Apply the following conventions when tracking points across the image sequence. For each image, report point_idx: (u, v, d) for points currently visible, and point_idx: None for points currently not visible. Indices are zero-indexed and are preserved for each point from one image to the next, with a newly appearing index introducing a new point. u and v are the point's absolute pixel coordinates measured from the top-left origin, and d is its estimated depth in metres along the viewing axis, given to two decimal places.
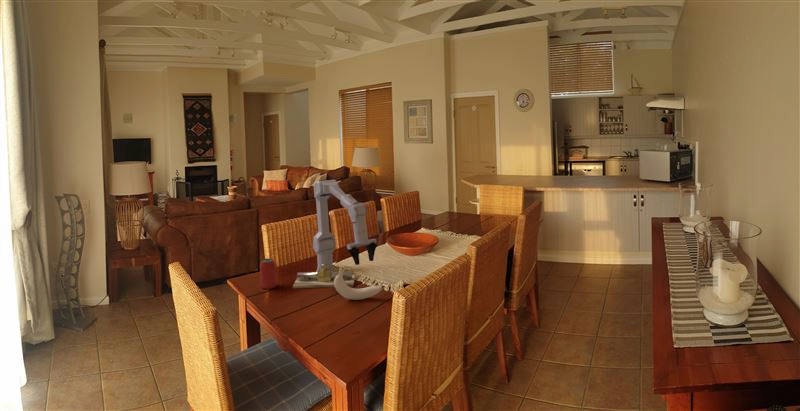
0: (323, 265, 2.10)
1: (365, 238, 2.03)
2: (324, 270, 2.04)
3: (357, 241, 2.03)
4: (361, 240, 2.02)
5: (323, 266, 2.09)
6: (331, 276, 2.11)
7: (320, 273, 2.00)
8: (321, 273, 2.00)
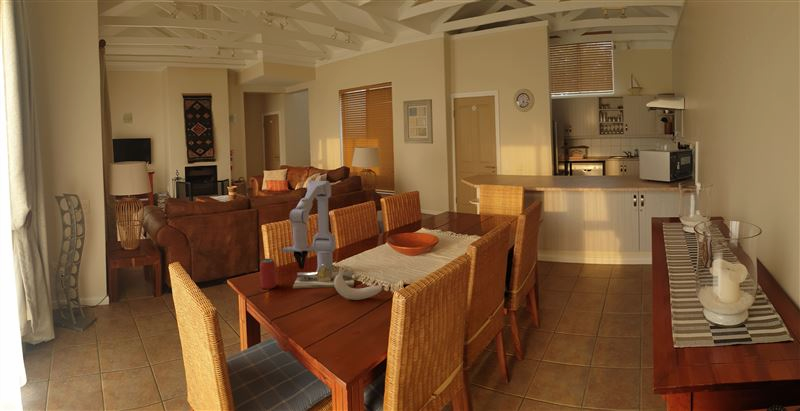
0: (323, 265, 2.10)
1: (299, 245, 1.98)
2: (324, 270, 2.04)
3: (293, 246, 2.01)
4: (295, 246, 1.99)
5: (323, 266, 2.09)
6: (331, 276, 2.11)
7: (320, 273, 2.00)
8: (321, 273, 2.00)
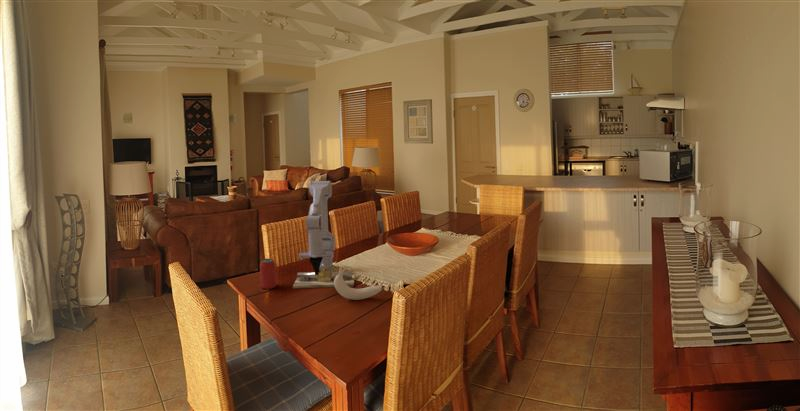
0: (323, 265, 2.10)
1: (315, 252, 1.99)
2: (324, 270, 2.04)
3: (309, 252, 2.01)
4: (311, 253, 2.00)
5: (323, 266, 2.09)
6: (331, 276, 2.11)
7: (320, 273, 2.00)
8: (321, 273, 2.00)
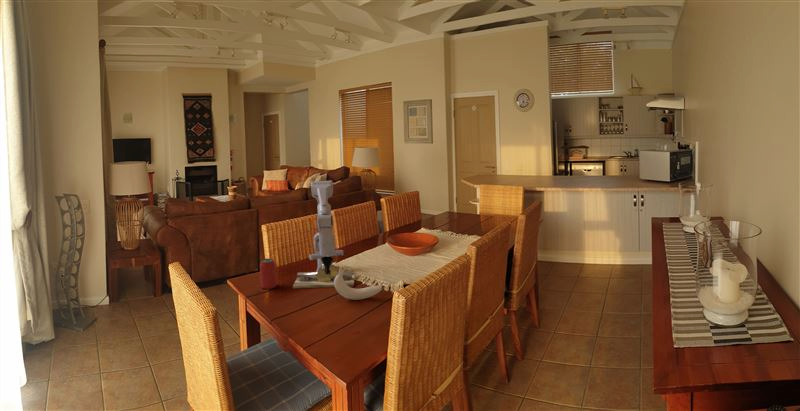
0: None
1: (329, 251, 2.00)
2: None
3: (320, 252, 2.01)
4: (324, 252, 2.00)
5: None
6: (331, 276, 2.11)
7: (332, 272, 2.01)
8: (333, 272, 2.02)
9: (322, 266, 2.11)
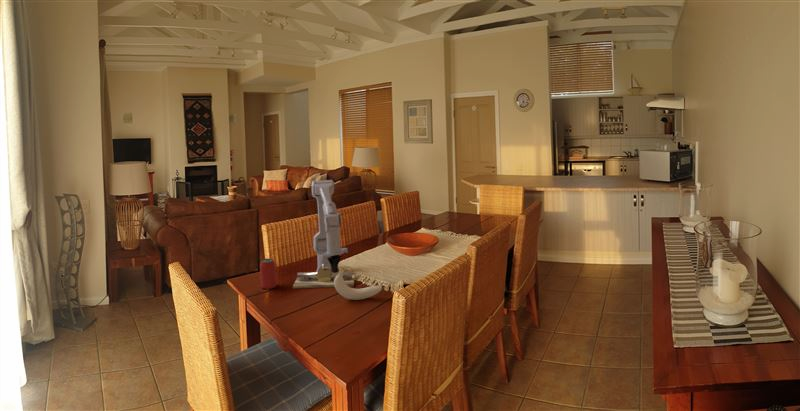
0: (326, 265, 2.11)
1: (338, 249, 2.02)
2: (338, 267, 2.08)
3: (330, 251, 2.01)
4: (334, 251, 2.01)
5: (329, 265, 2.10)
6: (331, 276, 2.11)
7: None
8: (343, 269, 2.04)
9: (323, 266, 2.11)
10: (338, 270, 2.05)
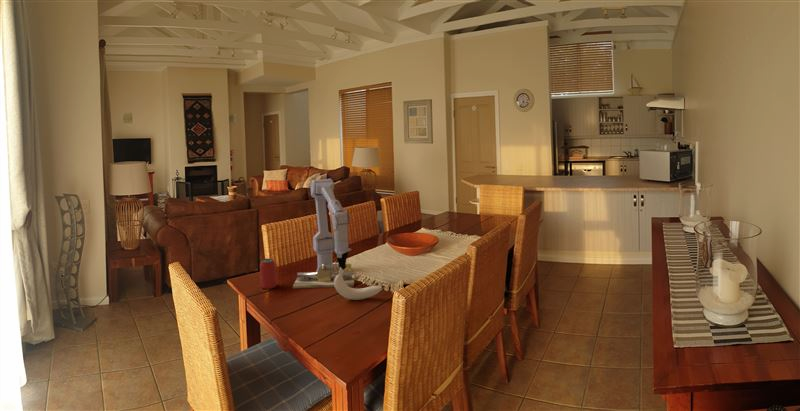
0: (328, 264, 2.12)
1: (347, 245, 2.08)
2: None
3: (342, 249, 2.05)
4: (346, 247, 2.06)
5: (331, 264, 2.12)
6: (331, 276, 2.11)
7: (350, 265, 2.10)
8: (350, 265, 2.11)
9: (324, 266, 2.11)
10: (346, 266, 2.10)
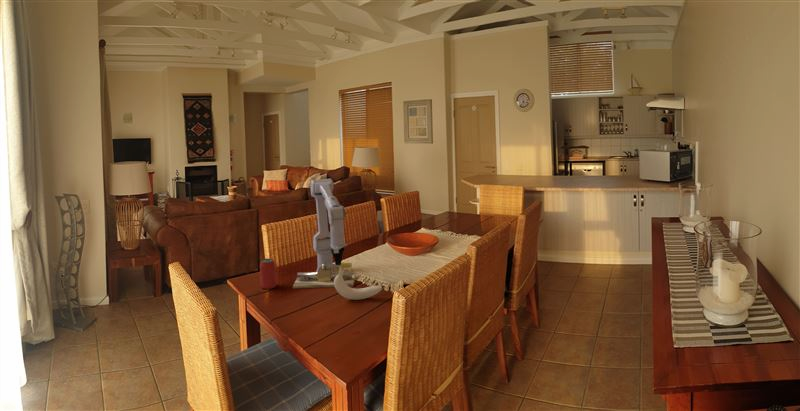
0: (328, 264, 2.12)
1: None
2: None
3: (338, 244, 2.03)
4: (342, 243, 2.04)
5: (331, 264, 2.12)
6: (331, 276, 2.11)
7: (351, 264, 2.12)
8: (351, 264, 2.12)
9: (325, 266, 2.11)
10: (347, 265, 2.11)
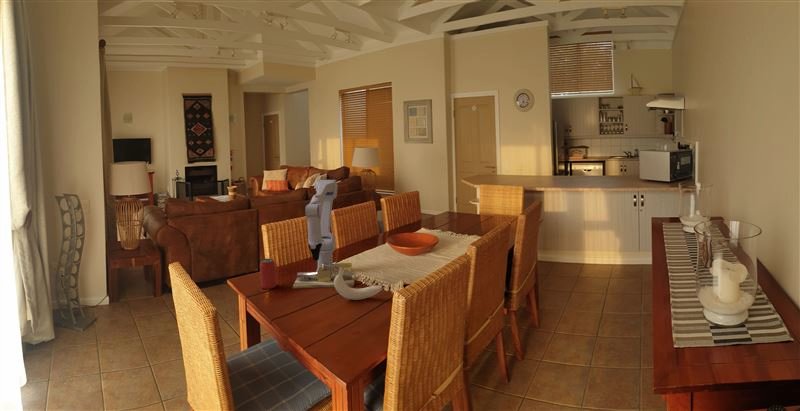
0: (328, 264, 2.12)
1: (321, 236, 2.13)
2: None
3: (315, 240, 2.10)
4: (319, 239, 2.11)
5: (331, 264, 2.12)
6: (331, 276, 2.11)
7: (351, 264, 2.12)
8: (351, 264, 2.12)
9: (325, 266, 2.11)
10: (347, 265, 2.11)
